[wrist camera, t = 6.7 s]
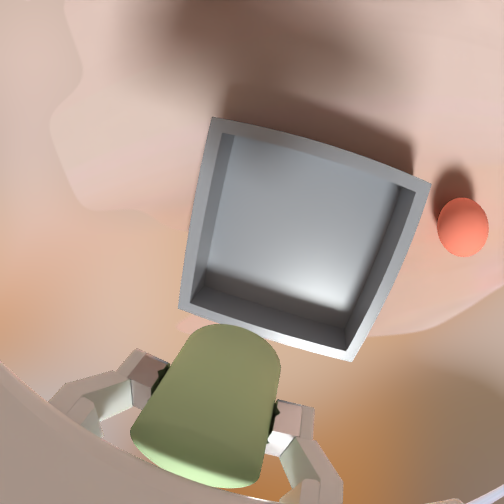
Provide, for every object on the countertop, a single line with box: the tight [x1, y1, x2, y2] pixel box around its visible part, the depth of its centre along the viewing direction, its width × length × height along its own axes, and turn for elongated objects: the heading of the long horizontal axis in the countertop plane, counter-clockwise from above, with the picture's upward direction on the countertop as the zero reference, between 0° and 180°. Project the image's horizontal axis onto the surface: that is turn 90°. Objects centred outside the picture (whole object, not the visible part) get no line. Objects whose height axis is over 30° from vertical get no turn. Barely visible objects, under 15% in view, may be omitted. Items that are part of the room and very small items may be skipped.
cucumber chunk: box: [130, 324, 281, 488], centre depth 9 cm, size 4×4×5 cm
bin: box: [178, 117, 431, 362], centre depth 22 cm, size 16×16×4 cm
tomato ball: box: [437, 198, 489, 257], centre depth 18 cm, size 5×5×5 cm
